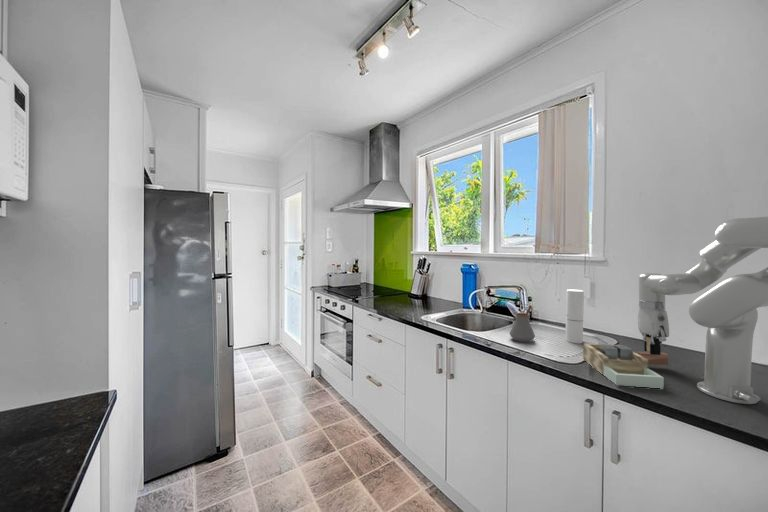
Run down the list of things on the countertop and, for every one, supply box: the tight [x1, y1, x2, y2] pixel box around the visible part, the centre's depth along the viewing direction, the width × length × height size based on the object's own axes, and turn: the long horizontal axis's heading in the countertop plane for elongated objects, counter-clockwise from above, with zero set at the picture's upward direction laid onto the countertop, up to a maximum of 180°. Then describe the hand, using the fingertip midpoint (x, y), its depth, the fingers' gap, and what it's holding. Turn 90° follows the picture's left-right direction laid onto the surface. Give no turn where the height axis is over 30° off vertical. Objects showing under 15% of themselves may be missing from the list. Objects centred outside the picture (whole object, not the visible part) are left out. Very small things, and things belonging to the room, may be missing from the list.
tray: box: [603, 366, 665, 390], centre depth 102 cm, size 8×14×4 cm, turn 80°
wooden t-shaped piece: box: [636, 337, 669, 366], centre depth 114 cm, size 2×9×10 cm, turn 80°
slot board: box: [582, 342, 649, 375], centre depth 113 cm, size 15×14×7 cm
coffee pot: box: [509, 305, 536, 343], centre depth 151 cm, size 21×12×15 cm, turn 139°
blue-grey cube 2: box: [600, 344, 618, 359], centre depth 112 cm, size 4×4×4 cm
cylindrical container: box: [565, 288, 585, 344], centre depth 145 cm, size 7×7×25 cm
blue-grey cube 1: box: [613, 344, 634, 360], centre depth 111 cm, size 4×4×4 cm
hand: (652, 352), depth 114 cm, fingers closed on wooden t-shaped piece, 2 cm apart
